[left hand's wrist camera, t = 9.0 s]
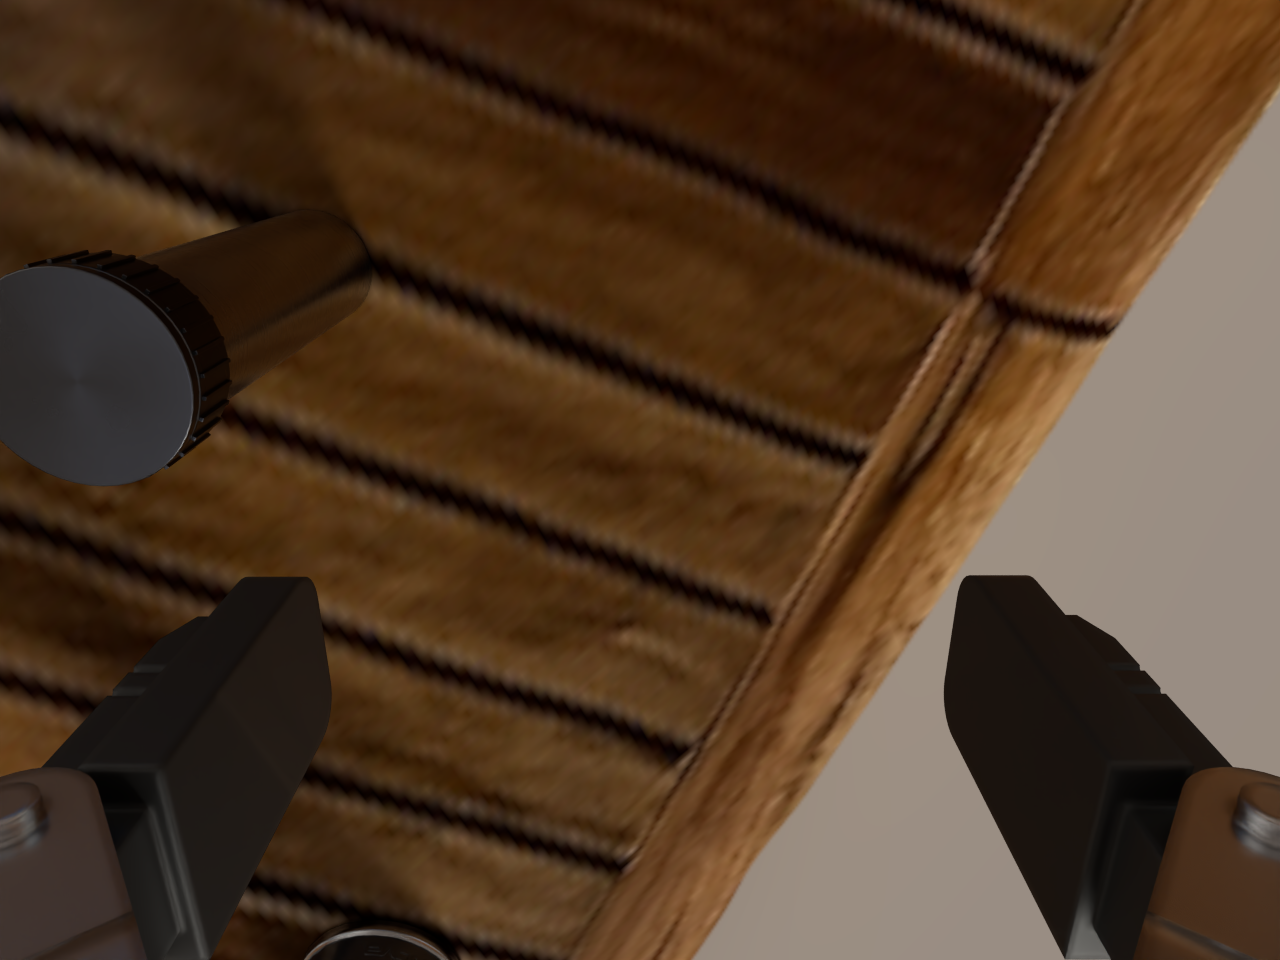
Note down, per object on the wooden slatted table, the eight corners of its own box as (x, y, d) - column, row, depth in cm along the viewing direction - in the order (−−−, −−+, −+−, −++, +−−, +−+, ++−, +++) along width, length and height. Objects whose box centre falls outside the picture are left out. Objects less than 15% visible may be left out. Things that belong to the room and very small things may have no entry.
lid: (265, 319, 23) (229, 339, 21) (192, 493, 24) (153, 526, 22) (49, 206, 21) (-10, 215, 20) (-10, 396, 23) (-70, 422, 21)
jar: (389, 246, 36) (209, 342, 21) (345, 341, 37) (149, 494, 23) (284, 187, 35) (20, 245, 20) (244, 287, 37) (-30, 408, 22)
